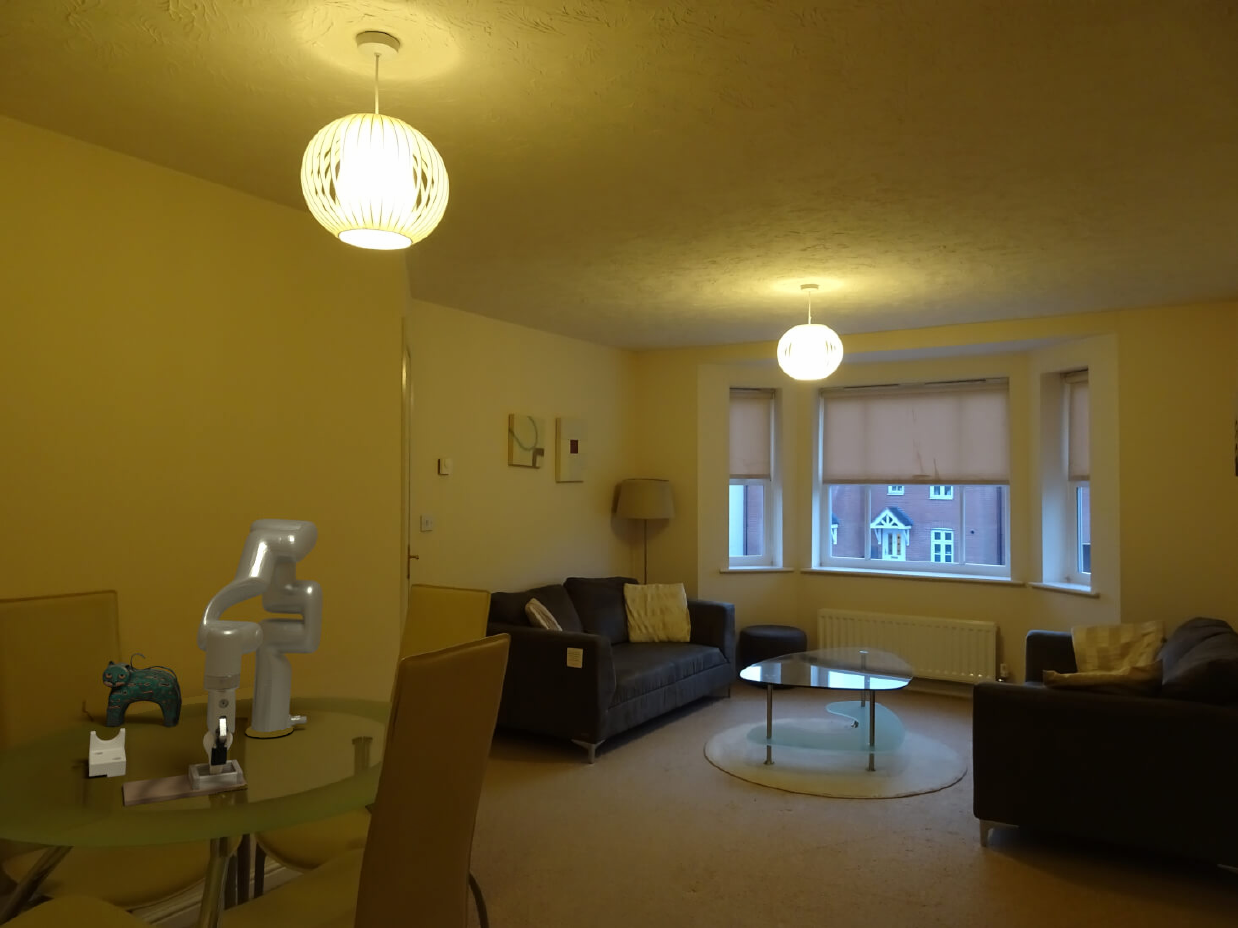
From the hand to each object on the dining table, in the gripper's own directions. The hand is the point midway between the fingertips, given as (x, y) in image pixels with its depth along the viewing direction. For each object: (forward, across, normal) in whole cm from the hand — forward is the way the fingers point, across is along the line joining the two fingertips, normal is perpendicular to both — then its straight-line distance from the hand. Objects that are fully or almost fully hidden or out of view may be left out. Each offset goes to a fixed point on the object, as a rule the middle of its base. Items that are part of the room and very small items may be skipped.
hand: (216, 759), depth 191 cm
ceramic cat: (+6, +56, +12) cm, 57 cm away
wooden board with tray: (+6, 0, +6) cm, 8 cm away
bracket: (+6, +21, +21) cm, 30 cm away
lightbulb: (+4, 0, 0) cm, 4 cm away
